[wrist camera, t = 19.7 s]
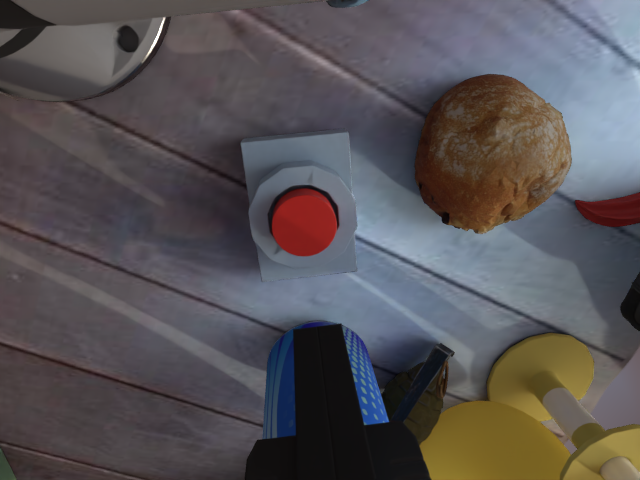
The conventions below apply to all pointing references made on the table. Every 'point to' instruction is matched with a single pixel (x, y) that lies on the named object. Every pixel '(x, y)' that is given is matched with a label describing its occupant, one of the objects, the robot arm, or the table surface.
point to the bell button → (303, 222)
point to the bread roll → (490, 153)
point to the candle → (565, 404)
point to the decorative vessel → (492, 445)
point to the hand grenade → (419, 393)
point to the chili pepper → (612, 211)
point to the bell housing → (294, 173)
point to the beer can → (283, 390)
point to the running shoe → (632, 304)
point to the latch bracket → (5, 468)
